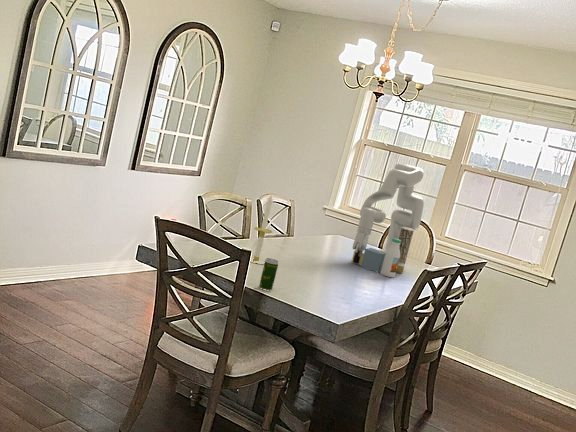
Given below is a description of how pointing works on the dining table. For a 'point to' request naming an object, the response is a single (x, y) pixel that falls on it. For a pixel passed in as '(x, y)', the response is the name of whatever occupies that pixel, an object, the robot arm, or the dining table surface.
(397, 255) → the milk bottle
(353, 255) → the tall yellow upright plank
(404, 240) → the paper tube
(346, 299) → the dining table surface
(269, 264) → the beer can
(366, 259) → the dispenser
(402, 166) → the robot arm
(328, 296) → the dining table surface
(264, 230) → the toy sword
